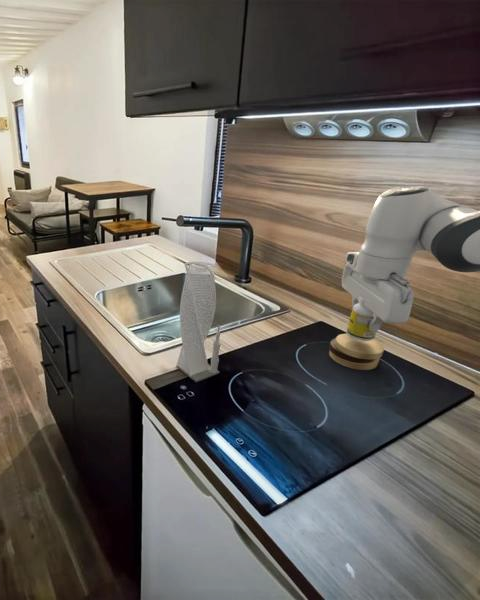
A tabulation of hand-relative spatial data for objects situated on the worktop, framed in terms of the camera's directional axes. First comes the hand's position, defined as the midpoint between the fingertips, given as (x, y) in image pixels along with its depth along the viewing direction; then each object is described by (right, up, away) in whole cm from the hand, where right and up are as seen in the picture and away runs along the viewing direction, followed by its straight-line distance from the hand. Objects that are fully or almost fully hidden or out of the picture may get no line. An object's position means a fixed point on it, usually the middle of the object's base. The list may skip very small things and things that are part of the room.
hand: (364, 322), depth 84 cm
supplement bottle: (0, -3, +2) cm, 4 cm away
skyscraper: (-38, -12, +4) cm, 40 cm away
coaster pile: (+1, -9, +4) cm, 10 cm away
